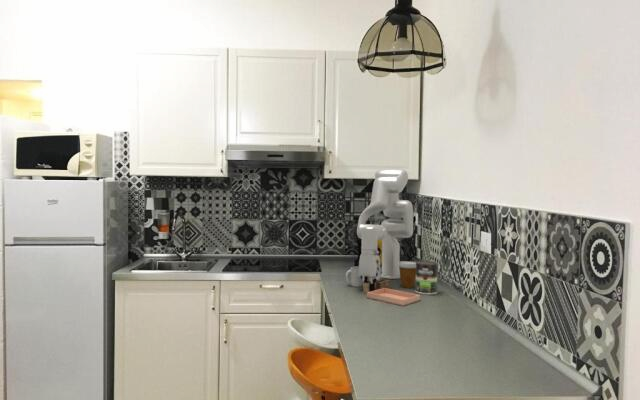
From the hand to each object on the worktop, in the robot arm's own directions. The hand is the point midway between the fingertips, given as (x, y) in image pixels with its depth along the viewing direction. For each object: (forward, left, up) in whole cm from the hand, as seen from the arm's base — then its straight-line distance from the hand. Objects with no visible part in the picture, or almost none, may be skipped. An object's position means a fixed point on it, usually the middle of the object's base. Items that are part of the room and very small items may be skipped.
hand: (368, 290), depth 222 cm
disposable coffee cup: (-22, +7, -1) cm, 23 cm away
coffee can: (-18, +20, -1) cm, 27 cm away
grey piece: (-7, 0, 0) cm, 7 cm away
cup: (-5, -13, -1) cm, 14 cm away
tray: (+5, +17, 0) cm, 18 cm away
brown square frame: (-4, 0, 0) cm, 5 cm away
